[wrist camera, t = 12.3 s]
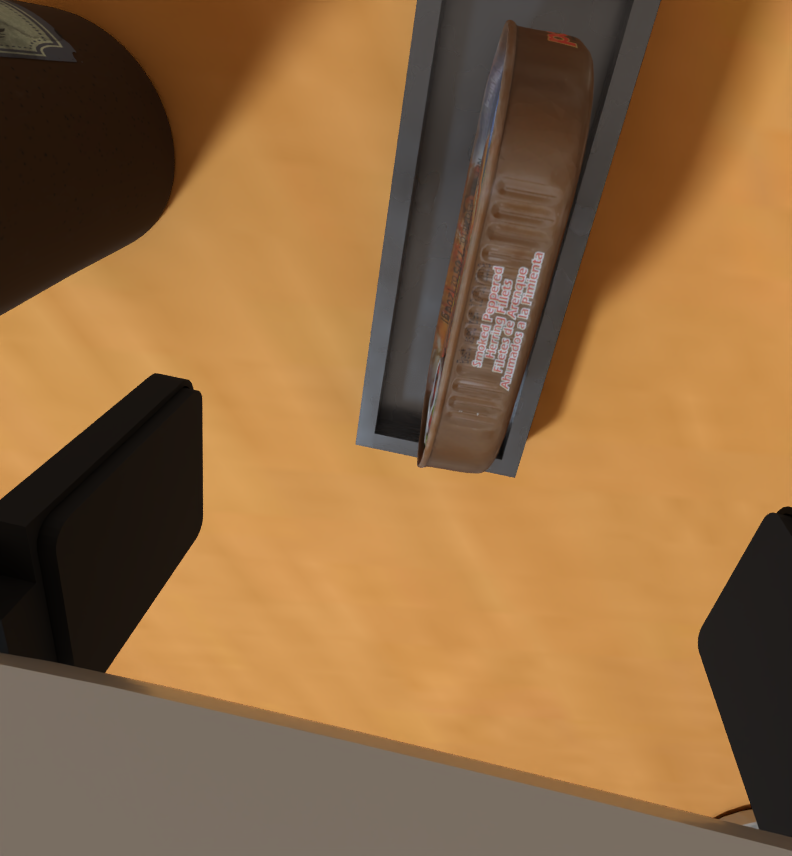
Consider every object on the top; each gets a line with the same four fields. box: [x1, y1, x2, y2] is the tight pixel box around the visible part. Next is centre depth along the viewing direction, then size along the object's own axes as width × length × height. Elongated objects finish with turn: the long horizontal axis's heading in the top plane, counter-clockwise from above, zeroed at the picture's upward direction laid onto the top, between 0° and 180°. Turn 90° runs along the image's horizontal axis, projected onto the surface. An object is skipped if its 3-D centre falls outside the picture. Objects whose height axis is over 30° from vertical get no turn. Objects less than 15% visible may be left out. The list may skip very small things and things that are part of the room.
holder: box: [356, 0, 661, 478], centre depth 25 cm, size 8×20×2 cm, turn 171°
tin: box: [417, 20, 594, 473], centre depth 22 cm, size 15×3×8 cm, turn 171°
